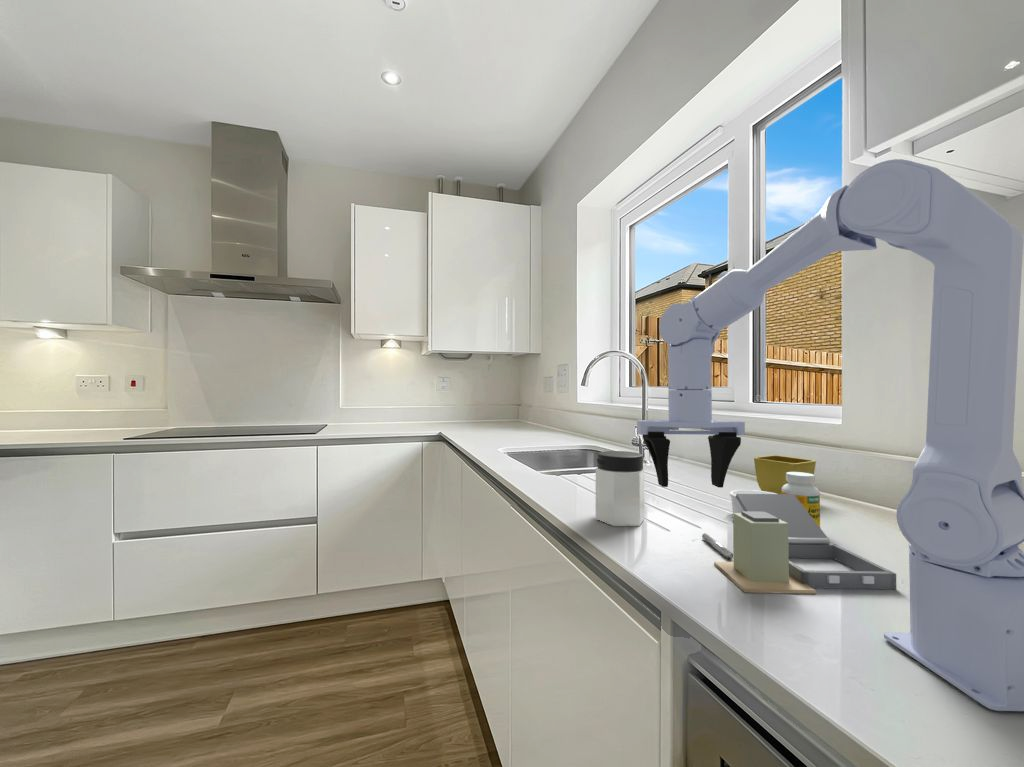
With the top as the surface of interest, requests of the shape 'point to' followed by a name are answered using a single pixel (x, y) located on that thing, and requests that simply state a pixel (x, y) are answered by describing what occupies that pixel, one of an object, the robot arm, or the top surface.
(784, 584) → the mat
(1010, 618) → the robot arm
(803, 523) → the lid
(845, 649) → the top surface
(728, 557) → the rod
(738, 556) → the block
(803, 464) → the flower pot
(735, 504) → the ramekin
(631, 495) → the jar
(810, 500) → the supplement bottle
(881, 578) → the case
